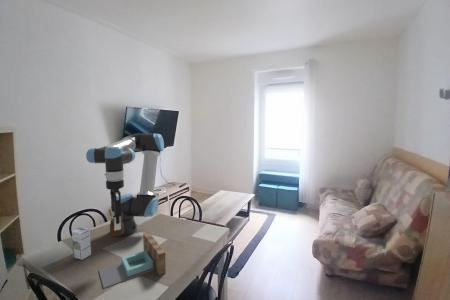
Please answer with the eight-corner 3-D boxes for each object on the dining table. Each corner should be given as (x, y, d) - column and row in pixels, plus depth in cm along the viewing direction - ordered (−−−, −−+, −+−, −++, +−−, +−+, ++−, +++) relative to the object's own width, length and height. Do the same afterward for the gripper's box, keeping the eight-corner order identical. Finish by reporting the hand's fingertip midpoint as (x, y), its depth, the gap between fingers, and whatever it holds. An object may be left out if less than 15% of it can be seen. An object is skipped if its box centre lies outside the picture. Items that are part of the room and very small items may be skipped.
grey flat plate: (98, 270, 106) (98, 270, 106) (146, 255, 119) (146, 254, 119) (103, 288, 95) (103, 287, 95) (155, 269, 108) (155, 268, 108)
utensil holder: (120, 236, 107) (119, 211, 105) (107, 236, 106) (106, 211, 105) (125, 230, 113) (125, 207, 111) (112, 230, 112) (111, 207, 111)
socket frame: (121, 263, 111) (121, 258, 111) (146, 256, 118) (145, 250, 117) (127, 277, 102) (127, 270, 101) (153, 267, 108) (153, 261, 108)
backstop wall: (143, 251, 123) (143, 233, 122) (149, 249, 125) (148, 232, 124) (159, 275, 104) (158, 254, 103) (165, 272, 106) (165, 252, 104)
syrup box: (91, 254, 119) (90, 227, 118) (81, 260, 114) (79, 233, 112) (83, 252, 121) (82, 226, 120) (73, 258, 116) (71, 231, 114)
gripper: (103, 176, 112) (105, 221, 115) (108, 185, 97) (110, 237, 99) (120, 175, 117) (121, 218, 119) (127, 182, 101) (128, 232, 103)
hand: (116, 226), depth 109 cm, fingers closed on utensil holder, 6 cm apart
